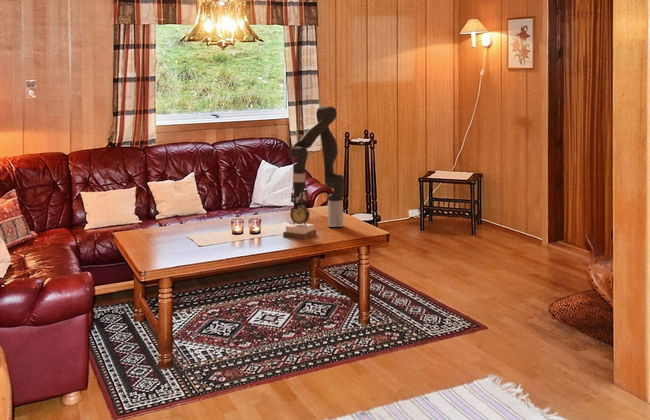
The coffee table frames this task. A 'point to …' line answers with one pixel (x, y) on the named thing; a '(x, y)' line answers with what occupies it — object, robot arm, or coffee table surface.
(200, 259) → the coffee table surface
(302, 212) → the alarm clock
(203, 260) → the coffee table surface
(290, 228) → the cream slab
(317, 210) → the coffee table surface
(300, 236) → the walnut slab
